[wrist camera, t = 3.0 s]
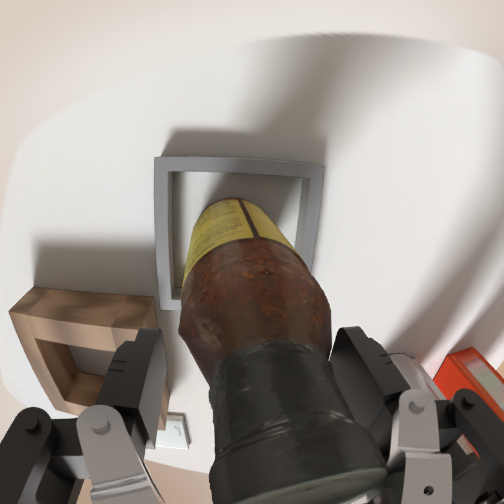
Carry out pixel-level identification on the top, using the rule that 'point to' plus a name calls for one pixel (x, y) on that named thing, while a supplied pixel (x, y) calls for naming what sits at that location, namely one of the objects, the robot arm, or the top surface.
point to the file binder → (472, 379)
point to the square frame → (168, 164)
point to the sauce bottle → (269, 368)
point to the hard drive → (173, 433)
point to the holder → (78, 339)
